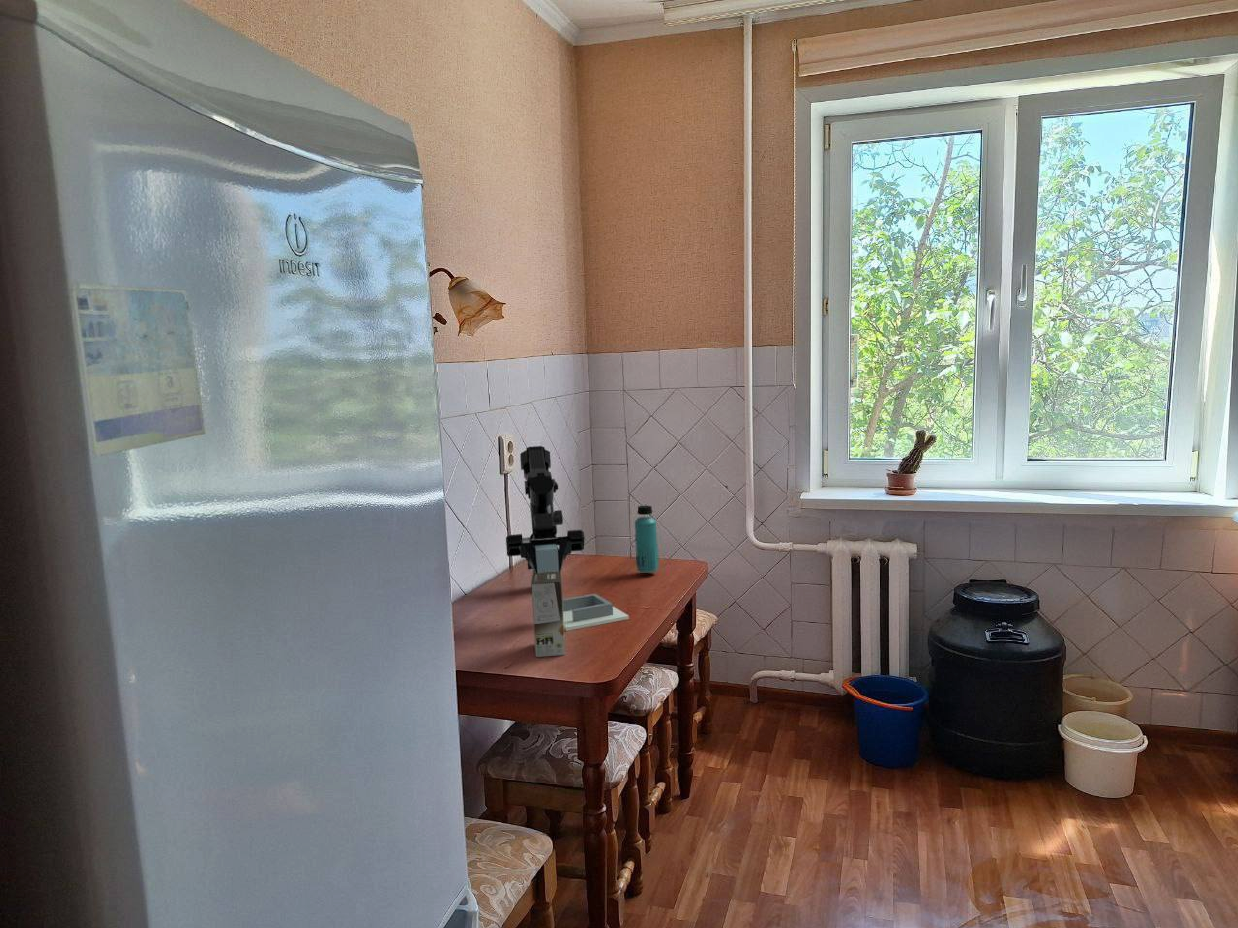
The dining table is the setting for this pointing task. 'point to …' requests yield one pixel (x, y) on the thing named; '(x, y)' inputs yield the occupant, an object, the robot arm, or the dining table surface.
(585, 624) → the plate
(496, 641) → the dining table surface
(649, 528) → the beverage bottle
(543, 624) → the coffee box
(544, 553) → the blue-grey tall block
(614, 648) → the dining table surface
